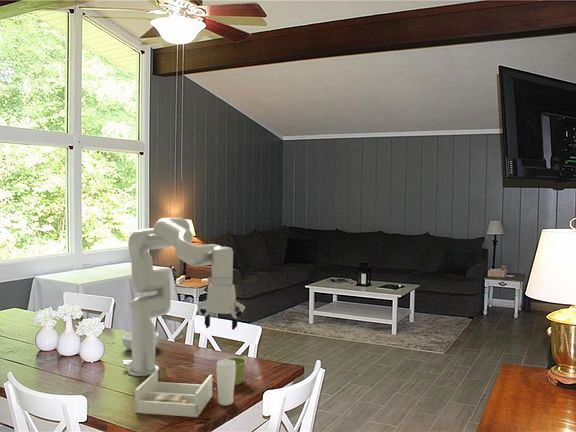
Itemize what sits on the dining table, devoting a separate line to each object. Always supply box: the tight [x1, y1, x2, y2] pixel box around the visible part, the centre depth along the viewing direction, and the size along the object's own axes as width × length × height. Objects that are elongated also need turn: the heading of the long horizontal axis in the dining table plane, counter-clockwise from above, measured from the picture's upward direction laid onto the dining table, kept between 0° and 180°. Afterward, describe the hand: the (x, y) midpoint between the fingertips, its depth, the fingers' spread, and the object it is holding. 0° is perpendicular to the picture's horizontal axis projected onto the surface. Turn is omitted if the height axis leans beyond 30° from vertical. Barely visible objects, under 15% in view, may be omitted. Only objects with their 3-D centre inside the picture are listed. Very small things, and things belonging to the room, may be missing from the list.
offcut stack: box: [154, 393, 187, 403], centre depth 191 cm, size 12×5×5 cm, turn 83°
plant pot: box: [226, 357, 247, 386], centre depth 218 cm, size 9×9×9 cm
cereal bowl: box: [121, 331, 160, 351], centre depth 259 cm, size 17×17×7 cm
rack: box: [134, 371, 213, 418], centre depth 196 cm, size 22×19×8 cm
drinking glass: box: [216, 358, 236, 407], centre depth 197 cm, size 7×7×15 cm
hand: (220, 327), depth 199 cm, fingers open, 9 cm apart
